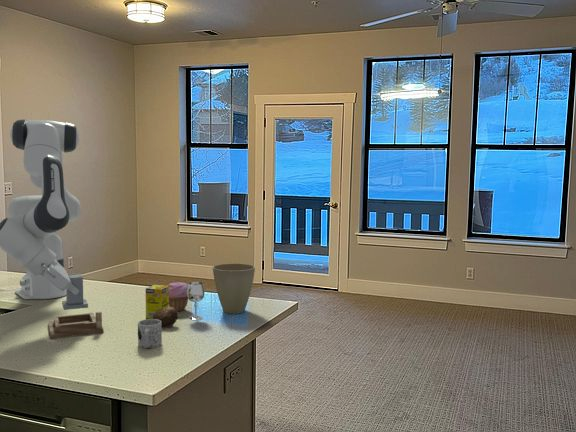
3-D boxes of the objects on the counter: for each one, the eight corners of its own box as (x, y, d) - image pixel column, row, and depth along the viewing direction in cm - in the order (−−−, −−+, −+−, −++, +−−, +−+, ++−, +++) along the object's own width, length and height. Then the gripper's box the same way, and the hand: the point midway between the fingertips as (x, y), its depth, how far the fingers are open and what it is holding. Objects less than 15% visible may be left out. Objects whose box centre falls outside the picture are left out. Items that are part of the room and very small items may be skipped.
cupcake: (161, 309, 202) (160, 281, 201) (182, 305, 208) (182, 278, 207) (173, 314, 195) (173, 286, 194) (195, 310, 201) (195, 282, 200)
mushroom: (172, 310, 189) (167, 298, 185) (185, 323, 184) (180, 311, 180) (152, 324, 185) (146, 312, 181) (164, 338, 180) (159, 326, 176)
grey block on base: (62, 304, 179) (61, 275, 178) (85, 302, 182) (84, 273, 181) (63, 309, 172) (62, 279, 171) (88, 307, 175) (87, 277, 174)
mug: (140, 341, 167) (140, 319, 166) (163, 341, 167) (163, 319, 166) (133, 352, 157) (133, 329, 156) (158, 352, 157) (157, 329, 156)
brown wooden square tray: (48, 325, 181) (47, 306, 181) (97, 319, 188) (97, 301, 187) (50, 338, 168) (50, 318, 167) (103, 332, 174) (103, 312, 174)
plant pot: (263, 311, 200) (263, 267, 198) (229, 319, 190) (229, 272, 188) (238, 303, 211) (238, 261, 209) (204, 310, 201) (204, 266, 200)
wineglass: (183, 318, 191) (183, 283, 190) (197, 314, 195) (197, 280, 194) (194, 321, 187) (194, 286, 186) (208, 318, 191) (207, 283, 190)
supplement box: (162, 322, 186) (161, 289, 185) (145, 320, 187) (144, 288, 186) (169, 317, 192) (169, 285, 191) (153, 315, 193) (152, 284, 192)
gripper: (51, 259, 163) (87, 289, 168) (47, 249, 181) (80, 277, 186) (34, 275, 162) (72, 306, 167) (33, 264, 180) (66, 291, 185)
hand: (76, 290), depth 177 cm, fingers closed on grey block on base, 5 cm apart
